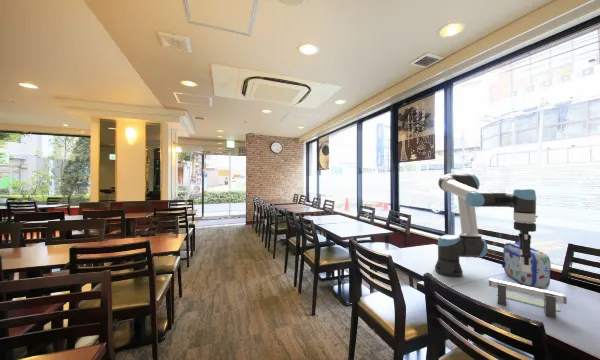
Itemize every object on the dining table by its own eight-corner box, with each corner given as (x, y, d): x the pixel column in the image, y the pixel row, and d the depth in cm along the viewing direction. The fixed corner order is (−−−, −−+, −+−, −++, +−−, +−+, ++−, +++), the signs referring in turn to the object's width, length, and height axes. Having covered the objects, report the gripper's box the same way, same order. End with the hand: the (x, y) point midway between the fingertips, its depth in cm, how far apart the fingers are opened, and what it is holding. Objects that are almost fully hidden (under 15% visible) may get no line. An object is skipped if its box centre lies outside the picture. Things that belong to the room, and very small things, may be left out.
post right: (545, 316, 102) (545, 294, 102) (543, 310, 107) (543, 289, 107) (555, 319, 100) (555, 297, 100) (553, 312, 105) (553, 291, 105)
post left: (497, 304, 112) (497, 284, 112) (497, 298, 117) (497, 279, 117) (506, 306, 110) (506, 286, 110) (505, 300, 115) (505, 281, 115)
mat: (496, 296, 120) (496, 295, 120) (496, 291, 125) (496, 290, 125) (560, 311, 106) (560, 310, 106) (557, 305, 111) (557, 304, 111)
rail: (489, 286, 116) (489, 280, 116) (489, 284, 118) (489, 278, 118) (566, 304, 99) (566, 297, 99) (565, 301, 101) (565, 294, 101)
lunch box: (498, 271, 152) (498, 238, 152) (517, 273, 149) (517, 238, 149) (531, 291, 125) (531, 250, 125) (554, 293, 123) (554, 251, 123)
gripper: (539, 226, 97) (540, 278, 97) (532, 219, 116) (533, 262, 116) (515, 224, 102) (515, 273, 101) (512, 217, 121) (512, 259, 120)
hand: (524, 267), depth 109 cm, fingers open, 13 cm apart
